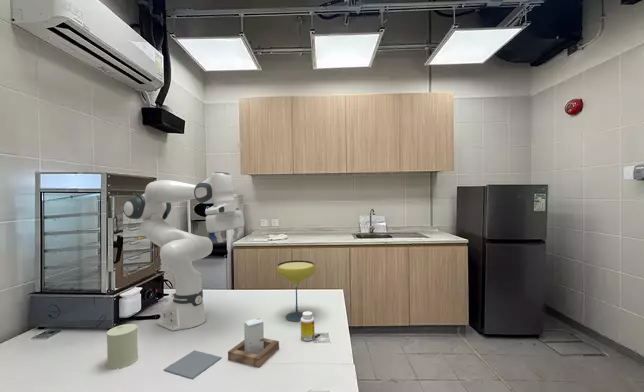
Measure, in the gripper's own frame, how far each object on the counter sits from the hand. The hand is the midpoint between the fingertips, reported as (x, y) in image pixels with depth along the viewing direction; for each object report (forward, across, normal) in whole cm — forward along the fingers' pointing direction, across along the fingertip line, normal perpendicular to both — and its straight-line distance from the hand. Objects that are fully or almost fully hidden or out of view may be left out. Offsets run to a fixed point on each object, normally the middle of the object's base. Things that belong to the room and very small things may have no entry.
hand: (228, 240), depth 127 cm
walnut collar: (+41, +12, +17) cm, 46 cm away
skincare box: (+41, +12, +17) cm, 46 cm away
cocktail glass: (+41, -23, +16) cm, 50 cm away
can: (+37, +33, -24) cm, 55 cm away
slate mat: (+39, +25, +1) cm, 47 cm away
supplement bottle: (+43, -6, +30) cm, 52 cm away
